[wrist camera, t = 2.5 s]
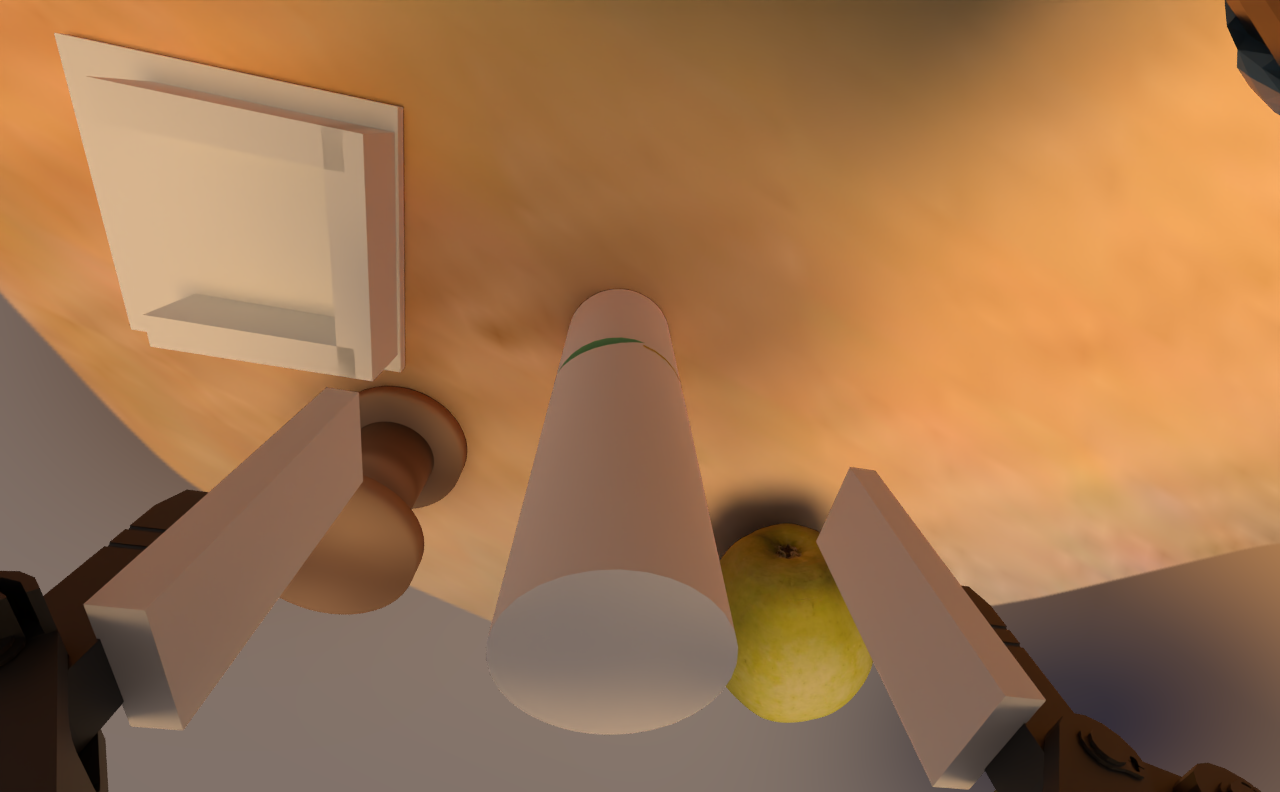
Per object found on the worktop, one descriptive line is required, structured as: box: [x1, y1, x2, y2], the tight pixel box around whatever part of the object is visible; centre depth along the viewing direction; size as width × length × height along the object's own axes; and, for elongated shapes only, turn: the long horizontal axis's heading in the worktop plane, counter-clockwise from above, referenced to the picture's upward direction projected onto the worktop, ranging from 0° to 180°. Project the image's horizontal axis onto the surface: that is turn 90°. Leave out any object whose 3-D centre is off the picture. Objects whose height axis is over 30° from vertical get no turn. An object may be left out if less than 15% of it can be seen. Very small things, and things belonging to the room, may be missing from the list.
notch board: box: [54, 33, 405, 381], centre depth 18 cm, size 10×10×3 cm
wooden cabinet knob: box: [280, 386, 467, 614], centre depth 21 cm, size 6×6×7 cm
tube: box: [486, 289, 738, 735], centre depth 16 cm, size 4×4×15 cm
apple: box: [720, 523, 873, 723], centre depth 25 cm, size 8×9×8 cm
